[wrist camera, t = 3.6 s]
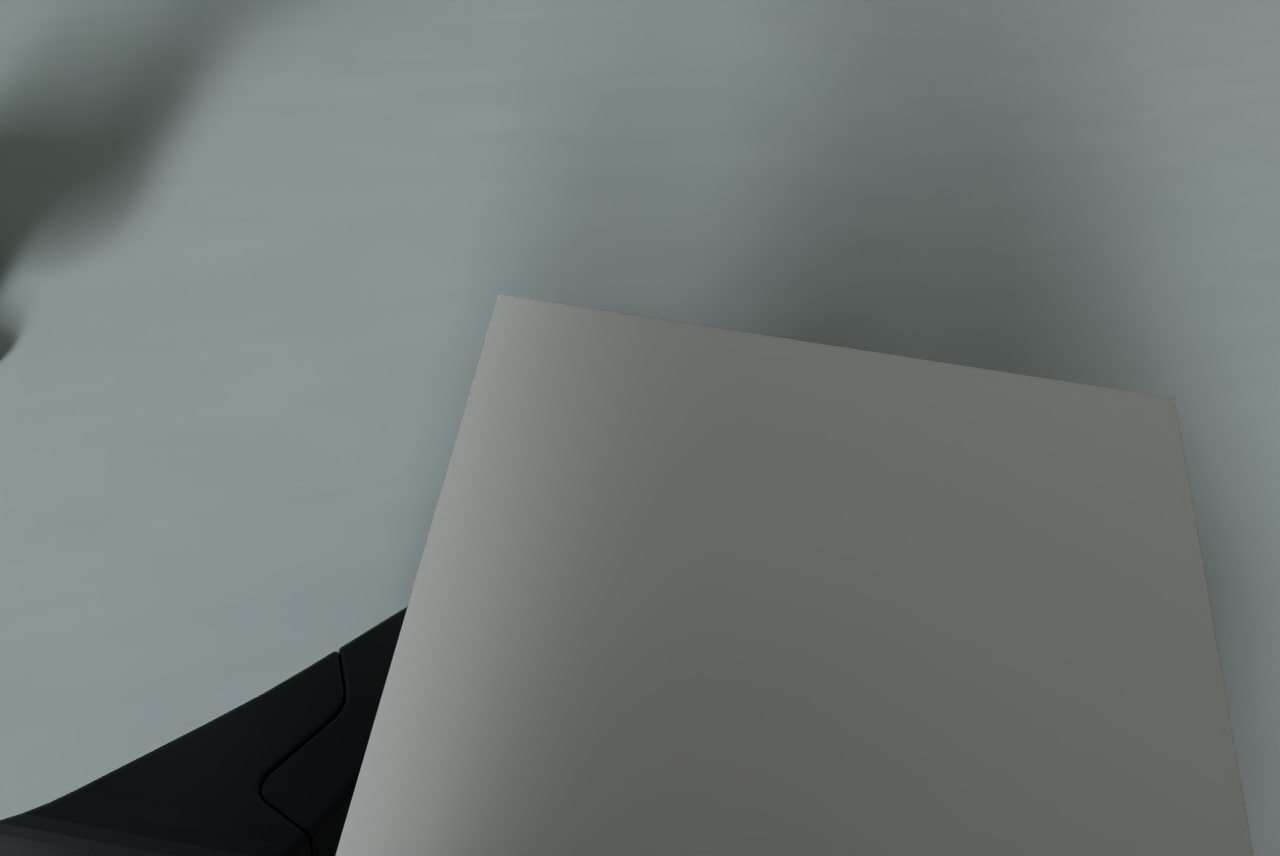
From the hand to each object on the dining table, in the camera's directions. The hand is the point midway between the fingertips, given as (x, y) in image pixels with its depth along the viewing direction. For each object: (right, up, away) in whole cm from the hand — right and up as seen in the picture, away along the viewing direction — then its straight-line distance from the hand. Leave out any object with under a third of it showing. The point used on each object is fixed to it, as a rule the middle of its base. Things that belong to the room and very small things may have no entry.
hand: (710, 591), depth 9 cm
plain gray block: (0, -4, +6) cm, 7 cm away
